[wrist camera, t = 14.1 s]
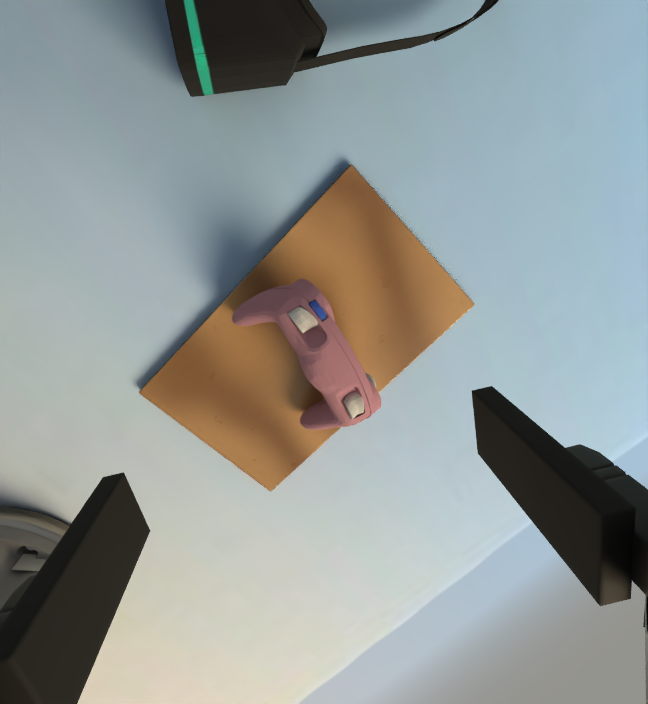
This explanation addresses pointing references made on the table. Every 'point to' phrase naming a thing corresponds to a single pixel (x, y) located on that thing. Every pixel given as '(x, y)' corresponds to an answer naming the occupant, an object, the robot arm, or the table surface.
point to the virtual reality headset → (260, 42)
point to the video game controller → (316, 352)
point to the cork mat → (277, 353)
